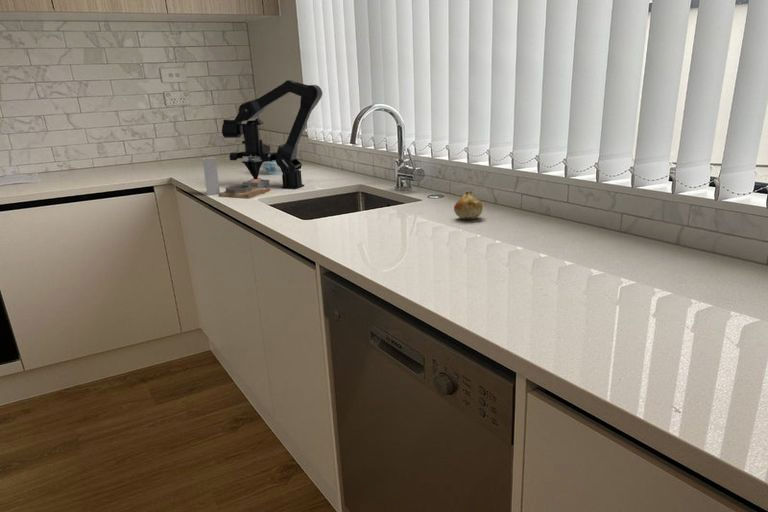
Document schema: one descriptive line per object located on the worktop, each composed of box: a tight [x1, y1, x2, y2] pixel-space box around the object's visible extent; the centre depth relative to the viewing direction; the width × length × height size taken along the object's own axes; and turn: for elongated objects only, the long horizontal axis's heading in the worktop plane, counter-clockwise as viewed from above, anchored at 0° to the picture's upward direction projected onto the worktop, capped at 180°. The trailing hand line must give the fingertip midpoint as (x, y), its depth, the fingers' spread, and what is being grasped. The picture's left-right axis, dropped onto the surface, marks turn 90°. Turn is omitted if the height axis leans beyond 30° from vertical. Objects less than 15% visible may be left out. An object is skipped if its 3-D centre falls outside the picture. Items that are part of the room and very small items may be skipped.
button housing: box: [242, 178, 270, 188], centre depth 219 cm, size 7×7×2 cm
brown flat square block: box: [218, 184, 271, 199], centre depth 207 cm, size 13×13×3 cm
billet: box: [202, 156, 221, 196], centre depth 208 cm, size 4×4×13 cm
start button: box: [249, 177, 262, 182], centre depth 219 cm, size 4×4×2 cm
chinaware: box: [260, 160, 283, 176], centre depth 250 cm, size 15×15×8 cm
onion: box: [453, 189, 483, 220], centre depth 159 cm, size 8×8×8 cm
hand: (255, 179), depth 218 cm, fingers closed, pressing on start button
